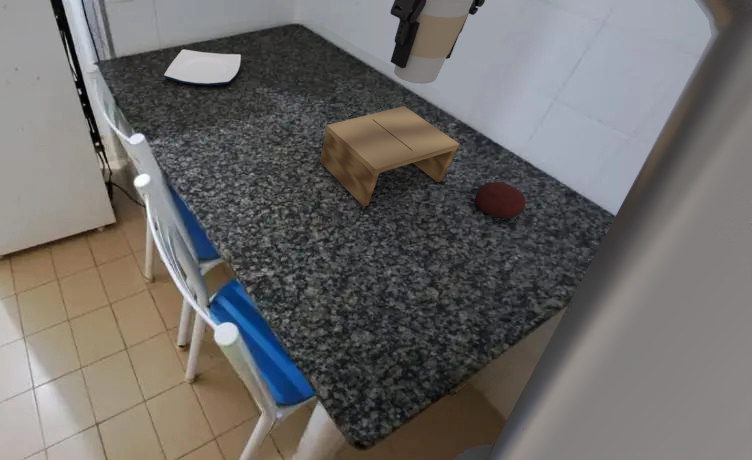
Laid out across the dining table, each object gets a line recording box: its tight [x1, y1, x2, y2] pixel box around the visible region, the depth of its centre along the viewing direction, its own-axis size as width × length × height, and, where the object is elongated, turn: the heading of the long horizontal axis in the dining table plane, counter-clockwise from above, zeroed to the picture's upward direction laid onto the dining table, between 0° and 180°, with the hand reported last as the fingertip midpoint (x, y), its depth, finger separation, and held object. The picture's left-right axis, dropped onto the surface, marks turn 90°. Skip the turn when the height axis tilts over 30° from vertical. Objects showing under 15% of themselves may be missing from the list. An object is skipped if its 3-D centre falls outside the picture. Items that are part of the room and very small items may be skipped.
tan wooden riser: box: [319, 105, 460, 208], centre depth 81 cm, size 16×20×9 cm
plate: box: [163, 49, 242, 87], centre depth 115 cm, size 20×20×3 cm
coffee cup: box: [393, 0, 473, 85], centre depth 59 cm, size 9×9×15 cm
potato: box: [474, 181, 527, 219], centre depth 73 cm, size 7×8×6 cm
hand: (420, 59), depth 63 cm, fingers closed on coffee cup, 8 cm apart
